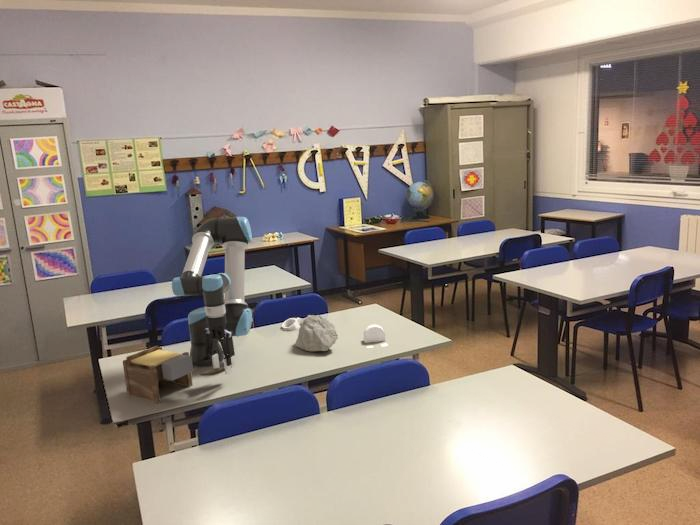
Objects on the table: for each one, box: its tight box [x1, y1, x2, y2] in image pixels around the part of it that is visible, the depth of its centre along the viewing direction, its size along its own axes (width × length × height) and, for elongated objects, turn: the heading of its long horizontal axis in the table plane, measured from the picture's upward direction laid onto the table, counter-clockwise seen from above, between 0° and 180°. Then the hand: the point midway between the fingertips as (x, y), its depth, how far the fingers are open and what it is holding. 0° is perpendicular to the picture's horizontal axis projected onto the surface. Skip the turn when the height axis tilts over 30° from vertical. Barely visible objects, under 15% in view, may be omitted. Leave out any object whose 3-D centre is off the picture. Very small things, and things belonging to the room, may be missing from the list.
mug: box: [281, 317, 305, 331], centre depth 289 cm, size 12×9×10 cm
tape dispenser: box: [363, 324, 389, 349], centre depth 262 cm, size 10×18×11 cm, turn 6°
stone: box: [199, 365, 233, 377], centre depth 223 cm, size 13×5×2 cm, turn 131°
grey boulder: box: [294, 314, 339, 352], centre depth 256 cm, size 22×13×15 cm, turn 53°
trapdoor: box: [131, 349, 194, 381], centre depth 218 cm, size 13×21×6 cm, turn 57°
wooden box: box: [122, 345, 193, 404], centre depth 221 cm, size 17×17×15 cm
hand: (222, 371), depth 224 cm, fingers closed on stone, 6 cm apart
